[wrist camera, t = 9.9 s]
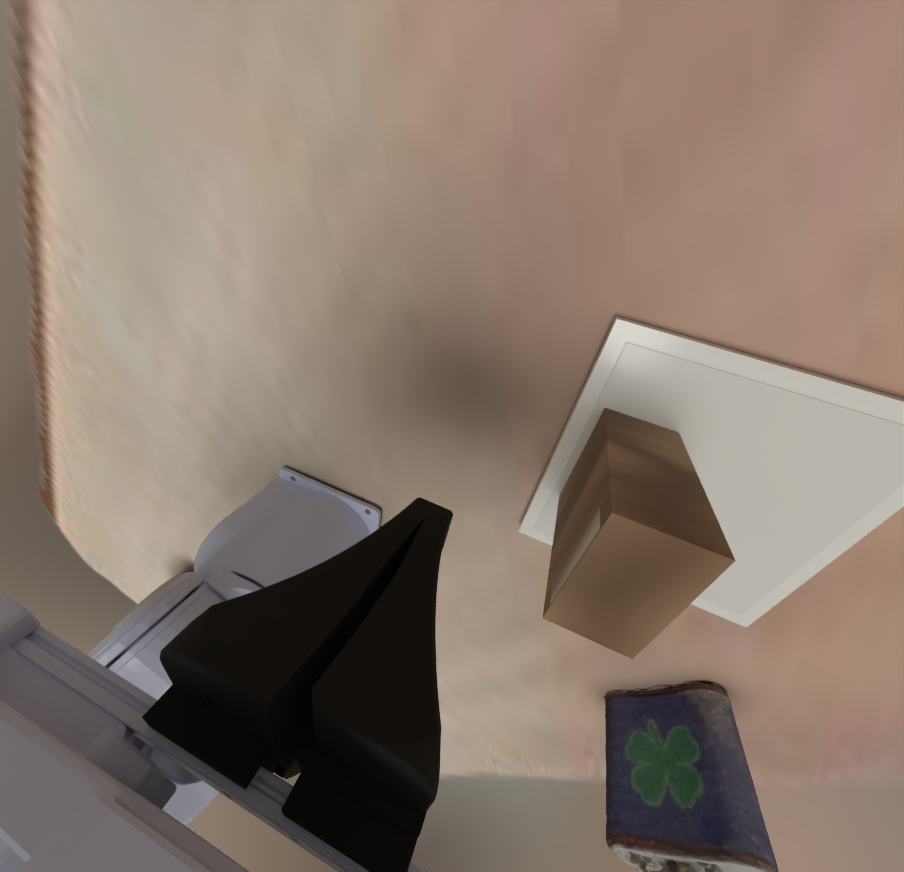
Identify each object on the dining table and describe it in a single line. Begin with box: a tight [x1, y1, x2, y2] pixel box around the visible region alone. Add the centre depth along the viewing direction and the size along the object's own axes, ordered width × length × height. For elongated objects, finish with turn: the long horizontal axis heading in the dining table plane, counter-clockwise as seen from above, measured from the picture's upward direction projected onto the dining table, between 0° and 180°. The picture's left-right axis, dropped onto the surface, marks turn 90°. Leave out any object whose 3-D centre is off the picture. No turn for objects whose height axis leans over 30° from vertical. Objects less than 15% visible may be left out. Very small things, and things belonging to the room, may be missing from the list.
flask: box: [604, 681, 778, 872], centre depth 22 cm, size 9×3×11 cm, turn 136°
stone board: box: [518, 316, 904, 627], centre depth 18 cm, size 14×14×1 cm
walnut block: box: [543, 408, 735, 659], centre depth 15 cm, size 4×6×8 cm, turn 167°
